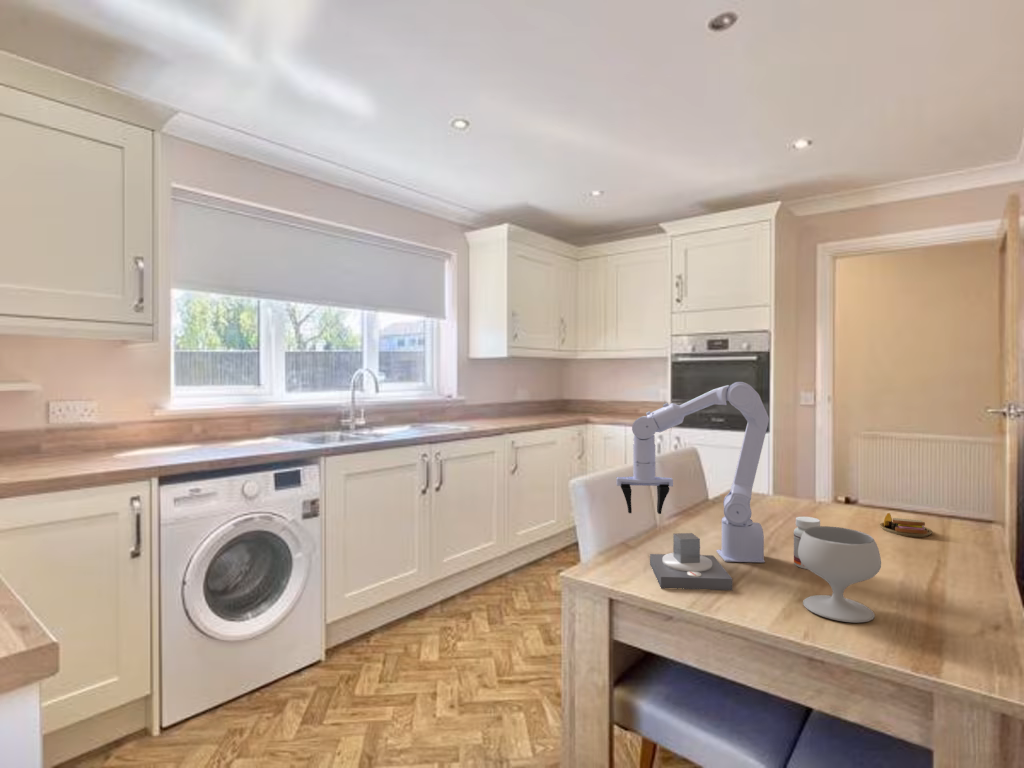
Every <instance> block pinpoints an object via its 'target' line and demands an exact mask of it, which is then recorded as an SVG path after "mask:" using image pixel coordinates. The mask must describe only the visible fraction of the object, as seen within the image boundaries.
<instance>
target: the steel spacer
mask: <svg viewBox="0 0 1024 768" xmlns="http://www.w3.org/2000/svg"><path fill="white" fill-rule="evenodd" d="M672 536H673V537H672V538H673V540H672V541H673V544H672V545H673V552H672V553H673V557H674V558H675V559H676V560H677V561H679V562H680V563H700V555H701V545H700V544H701V540H700V538H699V537H698V536H697V535H695V534H694V533H692V532H686V533H685V532H684V533H683V532H681V533H680V532H679V533H673V535H672Z"/></svg>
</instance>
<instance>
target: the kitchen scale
mask: <svg viewBox="0 0 1024 768" xmlns="http://www.w3.org/2000/svg"><path fill="white" fill-rule="evenodd" d="M649 565H650V568H651V567H652V568H651V570H652V569H653V570H652V571H653V574H654V576H655V578H657V579H656V580H658V581H657V583H658V585H659V587H661V588H660V589H665V588H677V589H676V590H679V589H678V588H682V589H681V590H700V589H710V591H733V578H732V577H731V575H730V574H729V572H728V571H727V570H726V569H725V568H724V567H723V566H722V564H721V563H720V561H718V560H717V559H716V557H715V556H714V555H712V554H710V555H708V554H707V555H706V554H700V563H680V562H679V561H677V560H676V559H675V558H674V557H673V552H670V553H666V554H664V553H650V554H649ZM683 588H684V589H683Z"/></svg>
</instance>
